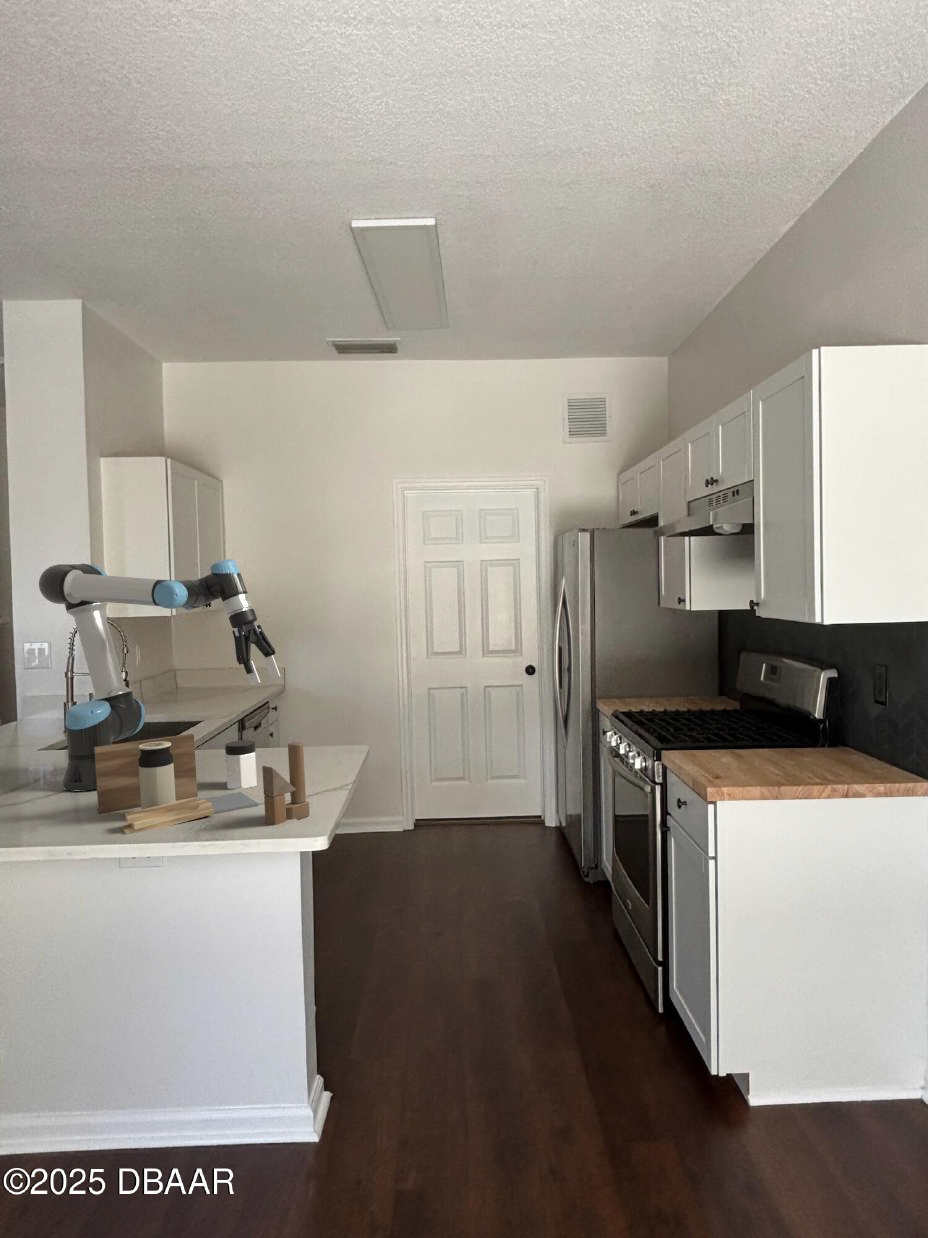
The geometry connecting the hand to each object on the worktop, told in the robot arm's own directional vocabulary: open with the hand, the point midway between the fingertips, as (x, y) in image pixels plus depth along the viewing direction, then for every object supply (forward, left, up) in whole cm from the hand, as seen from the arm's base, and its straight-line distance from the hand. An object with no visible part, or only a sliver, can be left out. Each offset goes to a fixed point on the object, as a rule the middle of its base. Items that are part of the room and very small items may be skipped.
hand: (266, 680), depth 240 cm
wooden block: (+46, -12, -28) cm, 55 cm away
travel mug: (+22, -36, -28) cm, 51 cm away
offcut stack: (+31, -36, -27) cm, 55 cm away
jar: (+6, -10, -28) cm, 30 cm away
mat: (+24, -21, -28) cm, 42 cm away
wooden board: (+11, -36, -28) cm, 47 cm away
